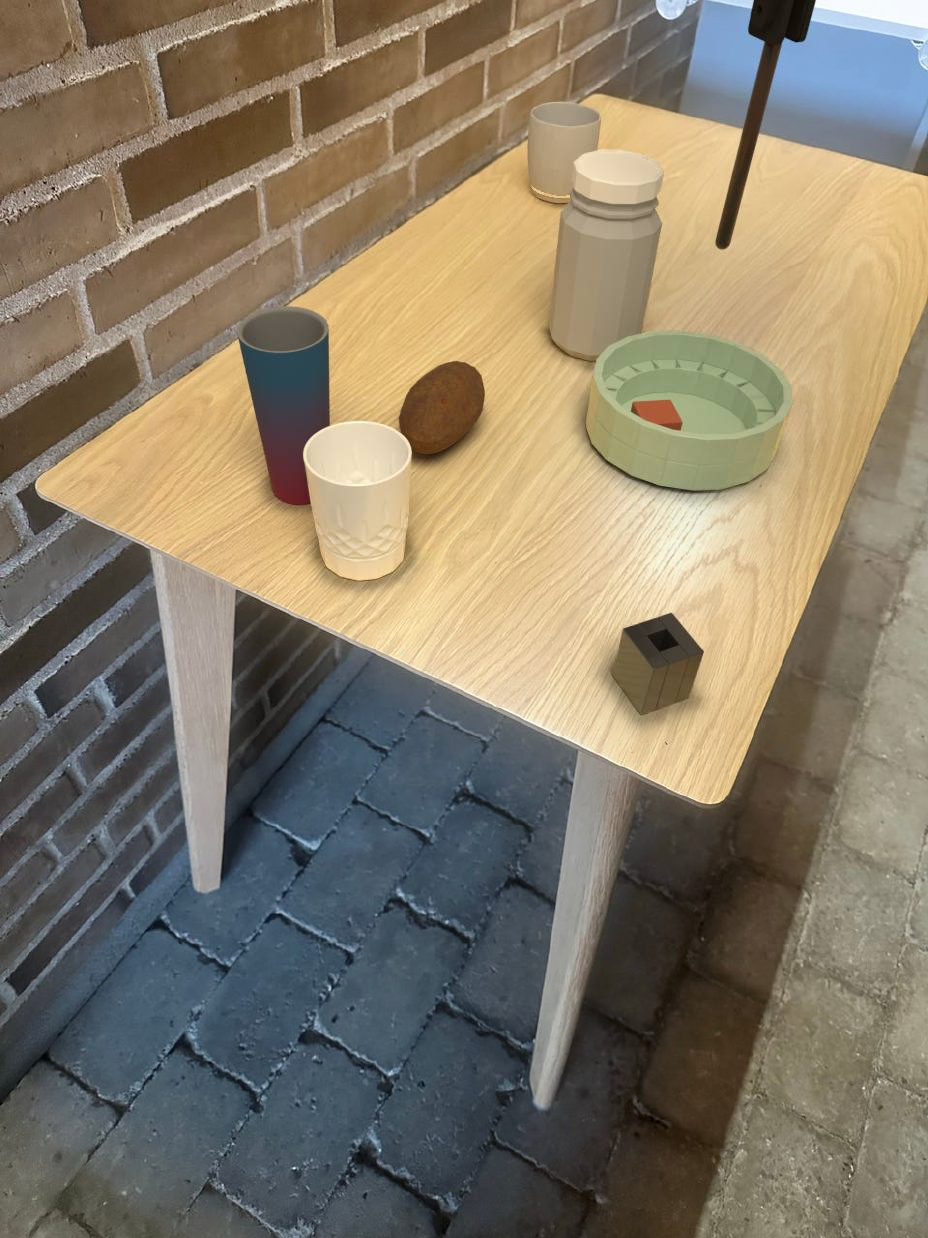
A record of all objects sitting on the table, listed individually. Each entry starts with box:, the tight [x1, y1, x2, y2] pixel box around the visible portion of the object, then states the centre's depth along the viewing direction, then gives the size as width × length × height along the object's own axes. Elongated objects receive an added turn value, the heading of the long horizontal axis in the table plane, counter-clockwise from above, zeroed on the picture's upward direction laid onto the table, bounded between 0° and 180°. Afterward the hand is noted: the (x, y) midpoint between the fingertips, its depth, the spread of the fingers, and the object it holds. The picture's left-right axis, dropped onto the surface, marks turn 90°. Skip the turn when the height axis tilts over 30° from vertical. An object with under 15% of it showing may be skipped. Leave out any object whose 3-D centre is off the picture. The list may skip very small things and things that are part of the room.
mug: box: [526, 101, 602, 204], centre depth 123 cm, size 13×9×10 cm
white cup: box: [303, 420, 413, 582], centre depth 72 cm, size 8×8×10 cm
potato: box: [398, 360, 486, 455], centre depth 84 cm, size 7×12×7 cm, turn 159°
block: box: [631, 400, 683, 431], centre depth 85 cm, size 4×4×4 cm
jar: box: [548, 148, 665, 362], centre depth 93 cm, size 10×10×18 cm
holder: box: [612, 612, 705, 716], centre depth 65 cm, size 4×4×5 cm
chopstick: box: [714, 40, 784, 251], centre depth 68 cm, size 1×1×20 cm
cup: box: [236, 305, 331, 506], centre depth 76 cm, size 7×7×15 cm
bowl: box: [585, 329, 794, 491], centre depth 86 cm, size 18×18×6 cm
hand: (775, 36), depth 64 cm, fingers closed on chopstick, 1 cm apart
